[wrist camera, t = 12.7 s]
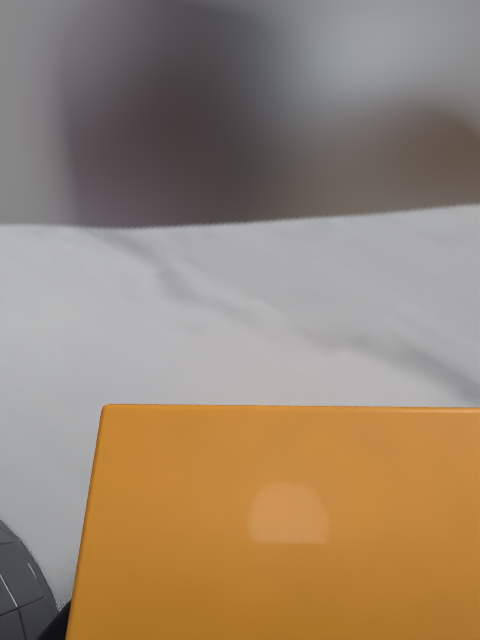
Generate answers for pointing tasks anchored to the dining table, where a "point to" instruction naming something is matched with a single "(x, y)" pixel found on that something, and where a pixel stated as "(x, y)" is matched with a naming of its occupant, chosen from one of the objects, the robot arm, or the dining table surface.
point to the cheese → (281, 524)
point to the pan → (22, 591)
